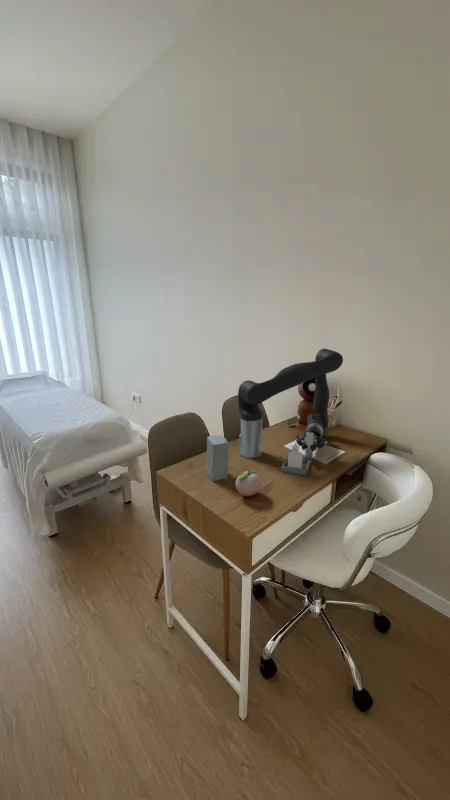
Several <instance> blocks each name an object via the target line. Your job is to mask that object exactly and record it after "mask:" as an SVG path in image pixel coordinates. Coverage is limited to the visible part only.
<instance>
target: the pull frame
mask: <svg viewBox="0 0 450 800" xmlns="http://www.w3.org/2000/svg"><path fill="white" fill-rule="evenodd" d="M313 436H314V433H313V432H306V447H305V450H304V453H305V454H304V456H303V457H302V463H306V466H305V469H304V468H302V469H299V468H292V467H288V466H286V465H288V454H286V457H285V459H284V461H283V463H282V465H281V466H280V472H282V473H288V474H294V475H300V476H307V474H308V470H309V468H310V465H311V464H312V463H313V457H314V456H313V454H314V452H313V451H312V446H313Z"/></svg>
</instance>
